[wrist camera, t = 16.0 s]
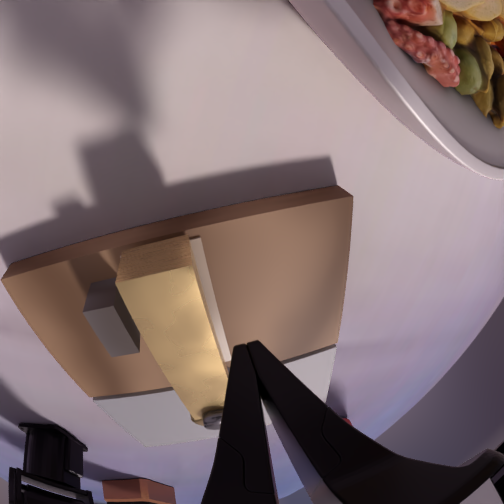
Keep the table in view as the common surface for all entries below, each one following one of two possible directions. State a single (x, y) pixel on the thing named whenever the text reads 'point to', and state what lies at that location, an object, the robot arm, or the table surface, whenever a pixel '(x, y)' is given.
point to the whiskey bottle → (137, 492)
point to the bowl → (427, 68)
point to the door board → (213, 282)
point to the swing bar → (176, 323)
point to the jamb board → (178, 417)
